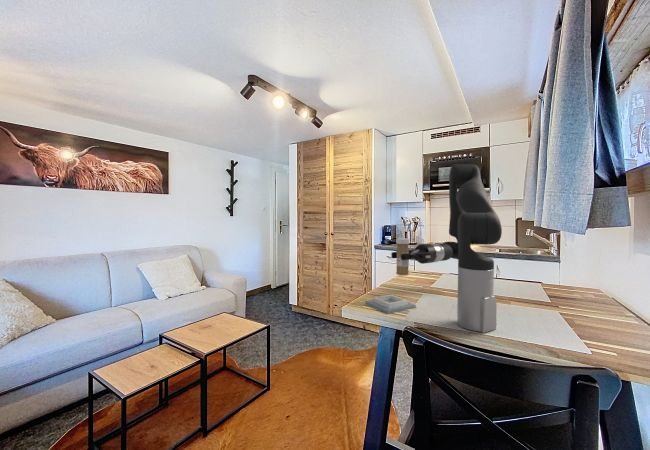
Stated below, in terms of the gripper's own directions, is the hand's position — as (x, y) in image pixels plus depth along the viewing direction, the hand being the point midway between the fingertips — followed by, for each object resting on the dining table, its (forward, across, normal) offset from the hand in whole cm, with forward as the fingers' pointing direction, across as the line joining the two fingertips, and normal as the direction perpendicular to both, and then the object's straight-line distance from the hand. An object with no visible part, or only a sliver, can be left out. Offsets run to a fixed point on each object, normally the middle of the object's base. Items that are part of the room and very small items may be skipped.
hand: (397, 256), depth 101 cm
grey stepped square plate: (+3, 0, +18) cm, 18 cm away
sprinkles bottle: (-3, 0, +7) cm, 8 cm away
